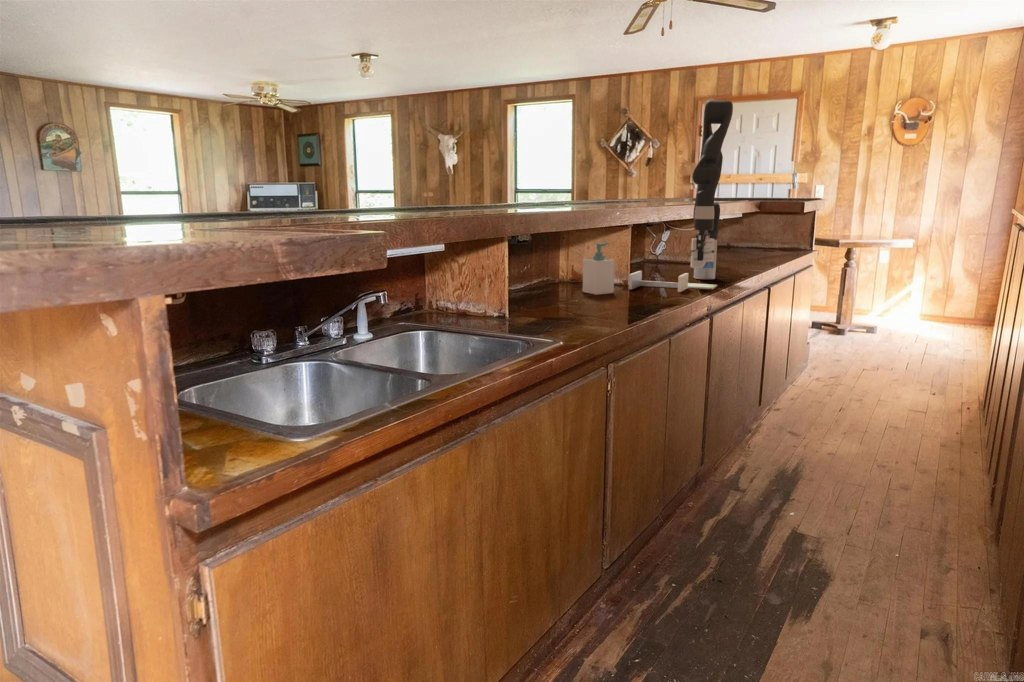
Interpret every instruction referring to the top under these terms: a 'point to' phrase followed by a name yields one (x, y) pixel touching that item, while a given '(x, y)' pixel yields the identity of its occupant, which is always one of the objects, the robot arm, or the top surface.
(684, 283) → the tie jaw
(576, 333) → the top surface
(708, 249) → the ink box
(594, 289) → the soap bottle
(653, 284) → the clamp base
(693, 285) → the mat
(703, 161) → the robot arm
